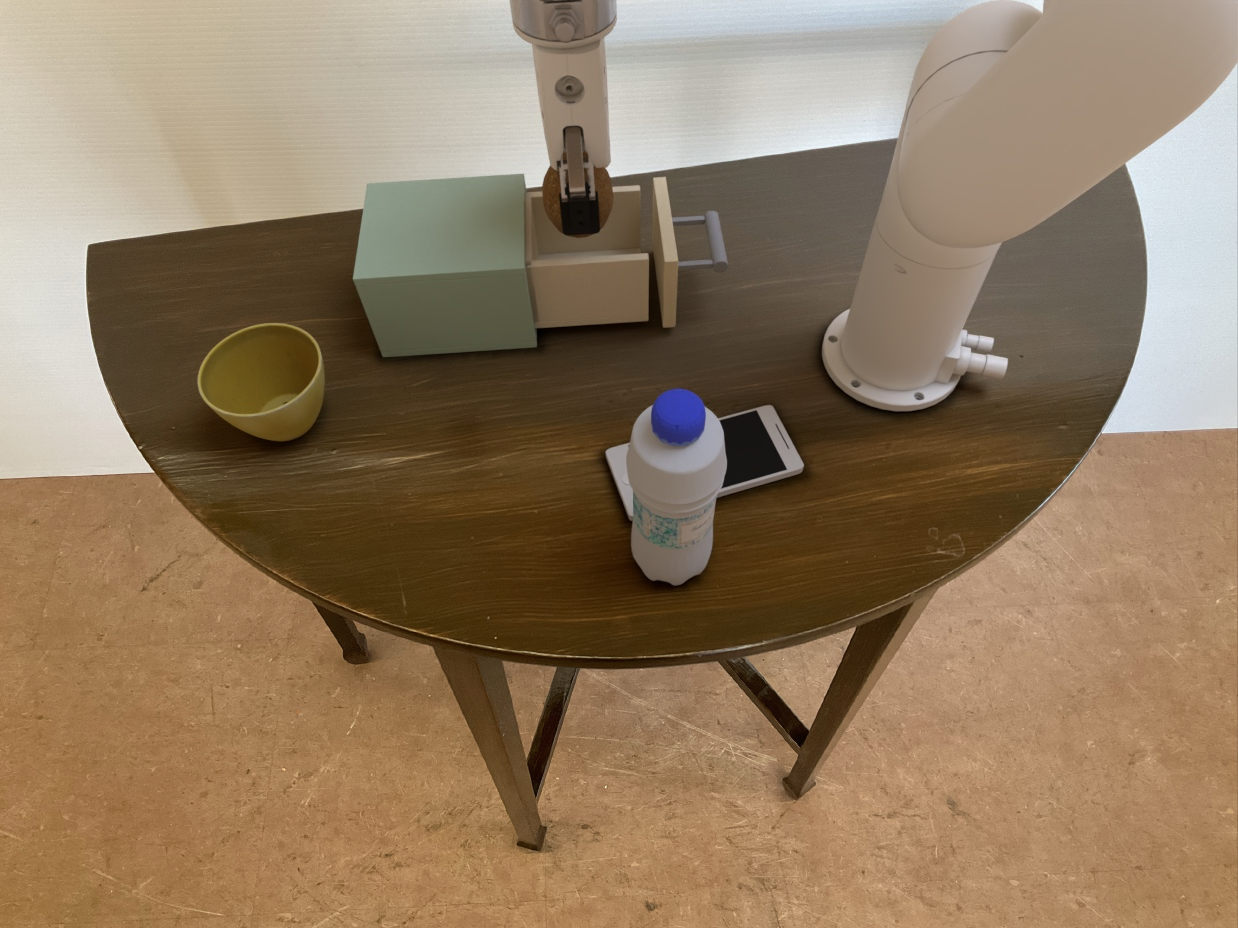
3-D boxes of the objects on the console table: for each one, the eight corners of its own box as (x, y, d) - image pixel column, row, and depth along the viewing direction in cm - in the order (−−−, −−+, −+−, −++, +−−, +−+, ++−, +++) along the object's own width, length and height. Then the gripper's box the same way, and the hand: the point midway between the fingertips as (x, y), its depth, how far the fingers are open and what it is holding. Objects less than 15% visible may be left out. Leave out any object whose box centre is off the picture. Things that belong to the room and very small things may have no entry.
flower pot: (367, 417, 77) (344, 365, 71) (271, 486, 73) (238, 437, 67) (305, 358, 81) (278, 305, 75) (210, 420, 77) (174, 369, 71)
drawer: (711, 241, 87) (717, 173, 80) (727, 323, 81) (734, 257, 74) (531, 253, 87) (522, 185, 80) (532, 336, 81) (522, 271, 74)
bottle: (681, 610, 66) (694, 466, 49) (611, 564, 68) (602, 411, 51) (729, 548, 69) (756, 392, 52) (661, 506, 71) (666, 343, 54)
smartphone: (604, 454, 74) (604, 448, 73) (770, 409, 76) (771, 402, 75) (630, 523, 70) (630, 517, 69) (803, 472, 72) (805, 466, 71)
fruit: (575, 265, 75) (568, 190, 69) (532, 229, 78) (522, 154, 71) (629, 233, 77) (627, 157, 71) (585, 199, 80) (580, 124, 73)
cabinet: (535, 255, 88) (524, 173, 80) (537, 347, 81) (524, 268, 73) (393, 264, 88) (366, 183, 79) (382, 357, 81) (352, 279, 72)
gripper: (624, 66, 56) (629, 271, 71) (608, -62, 65) (616, 142, 80) (509, 73, 55) (538, 278, 70) (510, -56, 65) (536, 147, 80)
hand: (579, 204), depth 75 cm, fingers closed on fruit, 6 cm apart
